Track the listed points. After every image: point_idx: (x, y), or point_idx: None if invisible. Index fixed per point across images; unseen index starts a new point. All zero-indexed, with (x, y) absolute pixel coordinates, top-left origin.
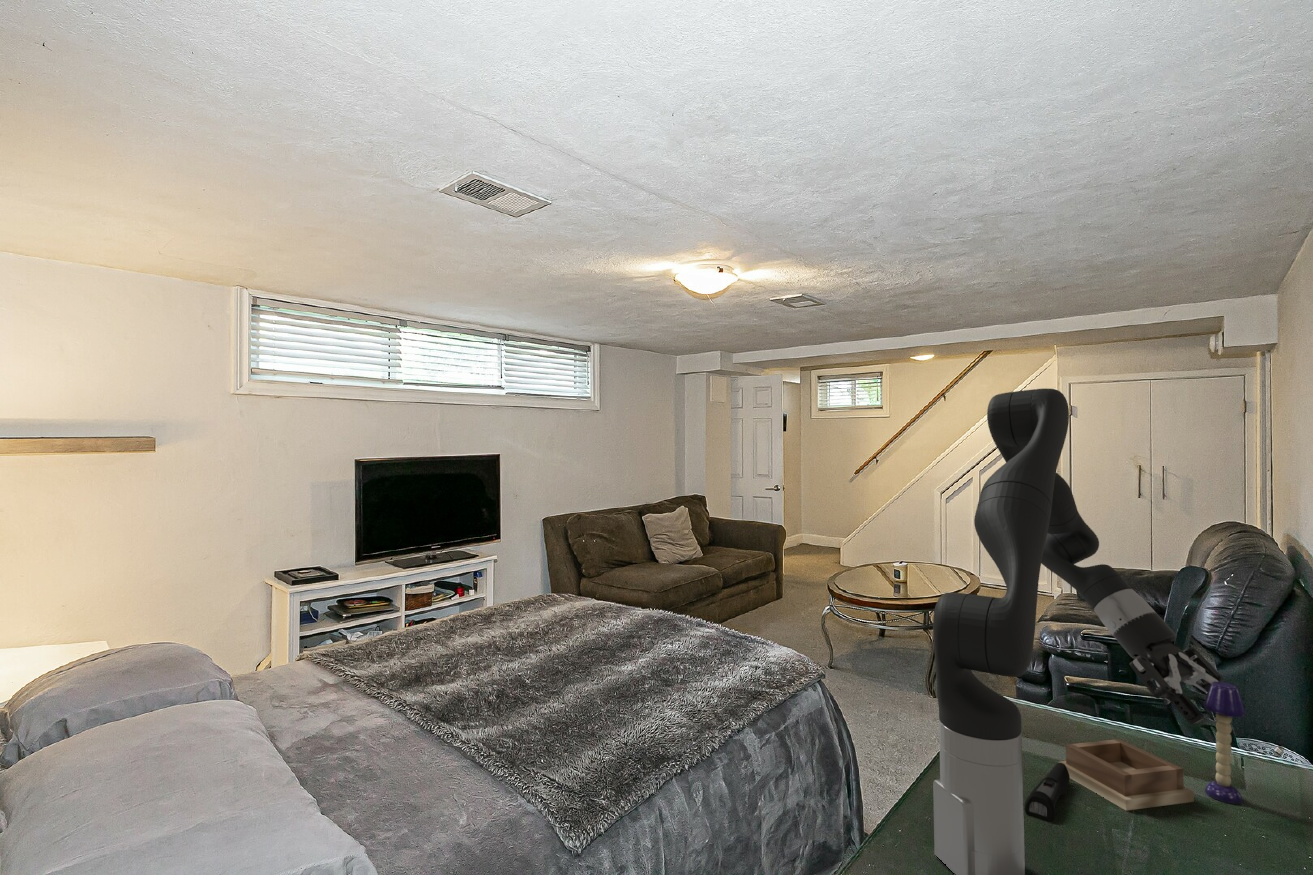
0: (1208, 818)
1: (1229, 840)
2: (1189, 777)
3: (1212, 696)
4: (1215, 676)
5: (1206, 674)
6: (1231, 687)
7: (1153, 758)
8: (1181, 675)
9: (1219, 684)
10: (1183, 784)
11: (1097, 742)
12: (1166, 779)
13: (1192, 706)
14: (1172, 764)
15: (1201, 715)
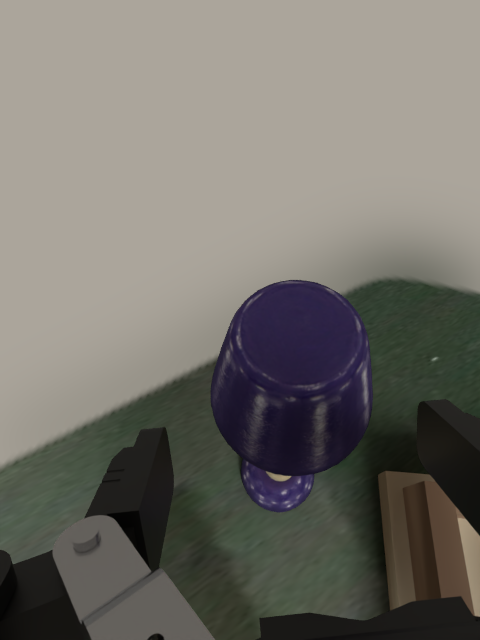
0: (412, 410)
1: (443, 344)
2: (255, 589)
3: (371, 377)
4: (3, 593)
5: (96, 604)
6: (308, 285)
7: (466, 575)
8: (446, 616)
9: (337, 334)
10: (407, 486)
11: None
12: None
13: (475, 425)
14: (435, 513)
15: (438, 401)
